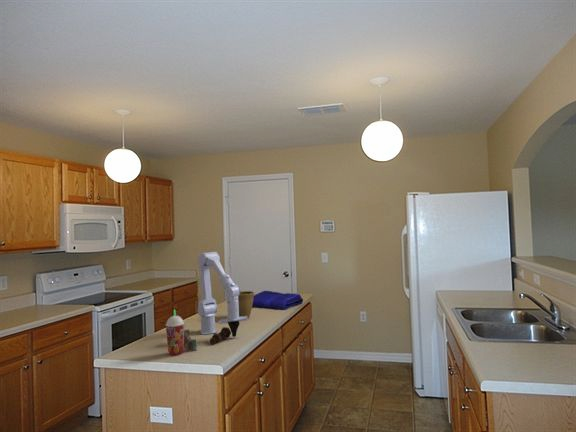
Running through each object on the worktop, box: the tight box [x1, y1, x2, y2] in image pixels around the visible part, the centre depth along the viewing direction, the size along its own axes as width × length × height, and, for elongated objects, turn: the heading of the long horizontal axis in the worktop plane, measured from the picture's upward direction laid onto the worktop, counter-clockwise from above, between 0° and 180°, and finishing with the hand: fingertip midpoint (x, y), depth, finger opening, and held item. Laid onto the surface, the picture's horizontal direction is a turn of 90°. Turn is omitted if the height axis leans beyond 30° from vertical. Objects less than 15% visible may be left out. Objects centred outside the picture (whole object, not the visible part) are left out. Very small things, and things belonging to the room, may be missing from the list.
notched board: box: [184, 329, 197, 352], centre depth 196 cm, size 22×3×5 cm, turn 23°
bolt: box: [209, 326, 232, 345], centre depth 201 cm, size 6×5×15 cm
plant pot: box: [238, 290, 255, 320], centre depth 249 cm, size 15×15×16 cm
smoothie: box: [165, 309, 185, 356], centre depth 183 cm, size 8×8×20 cm
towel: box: [252, 290, 304, 311], centre depth 288 cm, size 26×36×9 cm
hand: (234, 336), depth 205 cm, fingers closed
